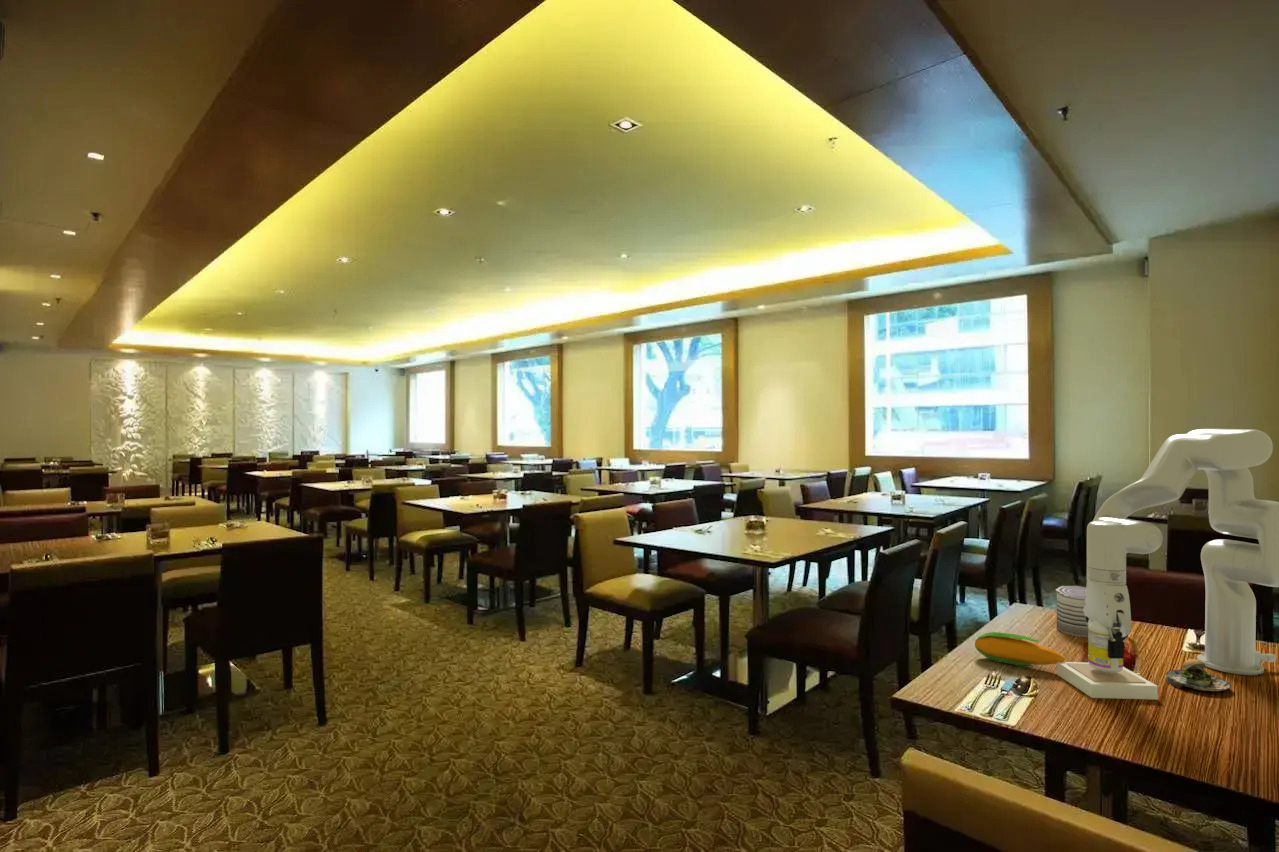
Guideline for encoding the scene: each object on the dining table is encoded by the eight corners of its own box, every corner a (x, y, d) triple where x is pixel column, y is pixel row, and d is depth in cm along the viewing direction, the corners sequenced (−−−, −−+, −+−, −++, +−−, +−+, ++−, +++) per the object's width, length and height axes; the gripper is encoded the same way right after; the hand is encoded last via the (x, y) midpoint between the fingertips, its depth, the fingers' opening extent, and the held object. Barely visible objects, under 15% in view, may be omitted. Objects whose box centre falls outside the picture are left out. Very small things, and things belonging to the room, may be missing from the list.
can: (1106, 631, 198) (1106, 590, 198) (1098, 640, 190) (1098, 597, 190) (1061, 623, 206) (1061, 583, 206) (1051, 631, 198) (1052, 590, 197)
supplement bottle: (1112, 663, 160) (1112, 608, 160) (1129, 673, 153) (1129, 617, 153) (1082, 662, 161) (1082, 608, 160) (1098, 672, 154) (1098, 616, 154)
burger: (1176, 692, 154) (1177, 659, 154) (1157, 674, 165) (1157, 643, 165) (1242, 700, 150) (1242, 666, 150) (1217, 681, 161) (1218, 649, 161)
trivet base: (1116, 675, 164) (1116, 662, 163) (1157, 699, 150) (1157, 684, 150) (1056, 674, 164) (1056, 660, 164) (1091, 697, 150) (1091, 683, 150)
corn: (977, 623, 179) (1066, 637, 168) (978, 651, 180) (1067, 667, 168) (972, 632, 173) (1064, 646, 162) (972, 661, 174) (1064, 678, 162)
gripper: (1148, 584, 148) (1148, 666, 148) (1099, 567, 165) (1099, 640, 165) (1113, 584, 148) (1112, 665, 149) (1067, 567, 166) (1067, 639, 166)
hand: (1105, 651), depth 157 cm, fingers closed on supplement bottle, 6 cm apart
